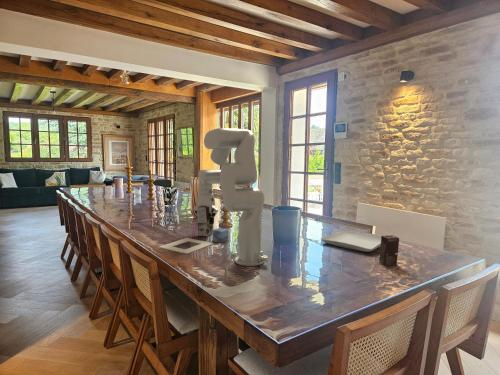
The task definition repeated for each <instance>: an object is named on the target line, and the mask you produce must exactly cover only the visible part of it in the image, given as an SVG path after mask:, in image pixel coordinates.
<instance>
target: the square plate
mask: <svg viewBox="0 0 500 375" xmlns="http://www.w3.org/2000/svg"><path fill="white" fill-rule="evenodd" d="M381 236H382V235H381ZM381 236H379V235H377V234H376V235H375V234H370V233H364V232H359V231H358V232H357V231H351V230H341V231H338V232H334V233H332V234H329V235H326V236H323V237H320V240H321V241H322V242H324V243H325V244H329V245H332V246H335V247H340V248H345V249H349V250H352V251H353V250H354V251H359V252H365V253H366V252H367V253H370V252H372V251H375V250H376V249H377V248H380V247H381Z"/></svg>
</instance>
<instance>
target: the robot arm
mask: <svg viewBox="0 0 500 375" xmlns="http://www.w3.org/2000/svg"><path fill="white" fill-rule="evenodd" d="M203 138H204V139H203V144H204V147H205V148H206V149H208V150H211V153H210V160H211V161H212V162H213V163H214V164H216V165H218V166H220V167H221V168H220V169H200V170H199V171H198V194H197V197H196V198H197V199H196V205H195V206H193V211H194V213H195V215H196V216H197V207H199V206H204V207H209V215H210V218H209V224H210V225H211V224H213V225H214V223H215V217H216V215H217V214H218V212H219V210H218V208H217V207H216V200H215V196H214V193H215V192H214V190H213V185H220V188H221V197H222V205H223V206H224V209H225V210H226V211H227V212H228V213H237V212H242V213H241V214H240V217H239V220H238V255H237V256H236V257H234V263H236V264H237V265H240V266H246V267H255V266H260V265H262V264H264V263H265V262H266V263H268V262H269V255H265V254H264V251H263V250H262V218H263V211H264V210H263V208H264V204H265V194H264V192H263V191H262V190H261V189H259V188H257V187H241V188H240V187H239V188H236V186H237V187H238V186H248V185H249V186H252V185H253V184H255V183H256V182H257V181H258V170H257V164H256V163H257V161H256V157H255V145H256V143H255V142H256V139H255V135H254V132H252V131H251V130H249V129H244V128H225V127H223V128H222V127H219V128H214V129H211V130H208V131H207V132H206V133H205V135H204V137H203ZM232 149H235V152H234V160H235V162H229V160H228V159H229V156H230V154H231V152H232ZM211 213H212V214H211Z"/></svg>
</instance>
